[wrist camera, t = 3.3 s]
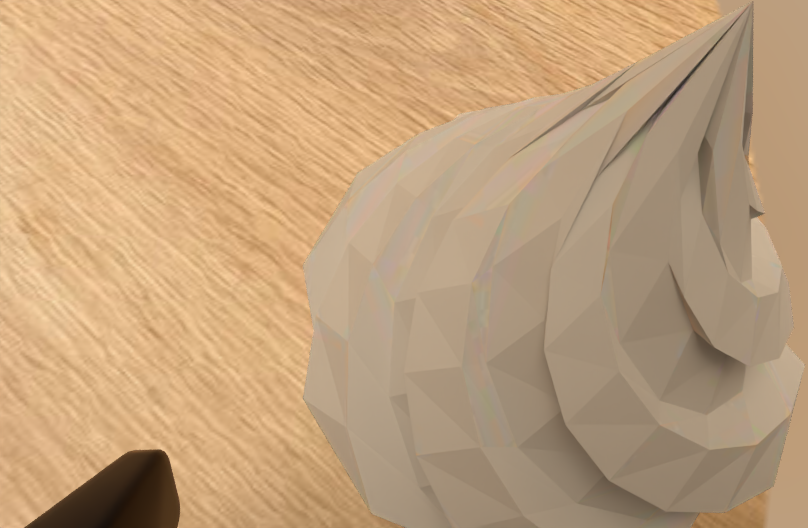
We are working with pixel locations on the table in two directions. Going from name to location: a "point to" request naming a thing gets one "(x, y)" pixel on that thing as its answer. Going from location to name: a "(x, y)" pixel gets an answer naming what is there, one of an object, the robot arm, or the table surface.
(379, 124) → the table surface
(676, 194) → the ice cream cone
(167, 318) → the table surface
